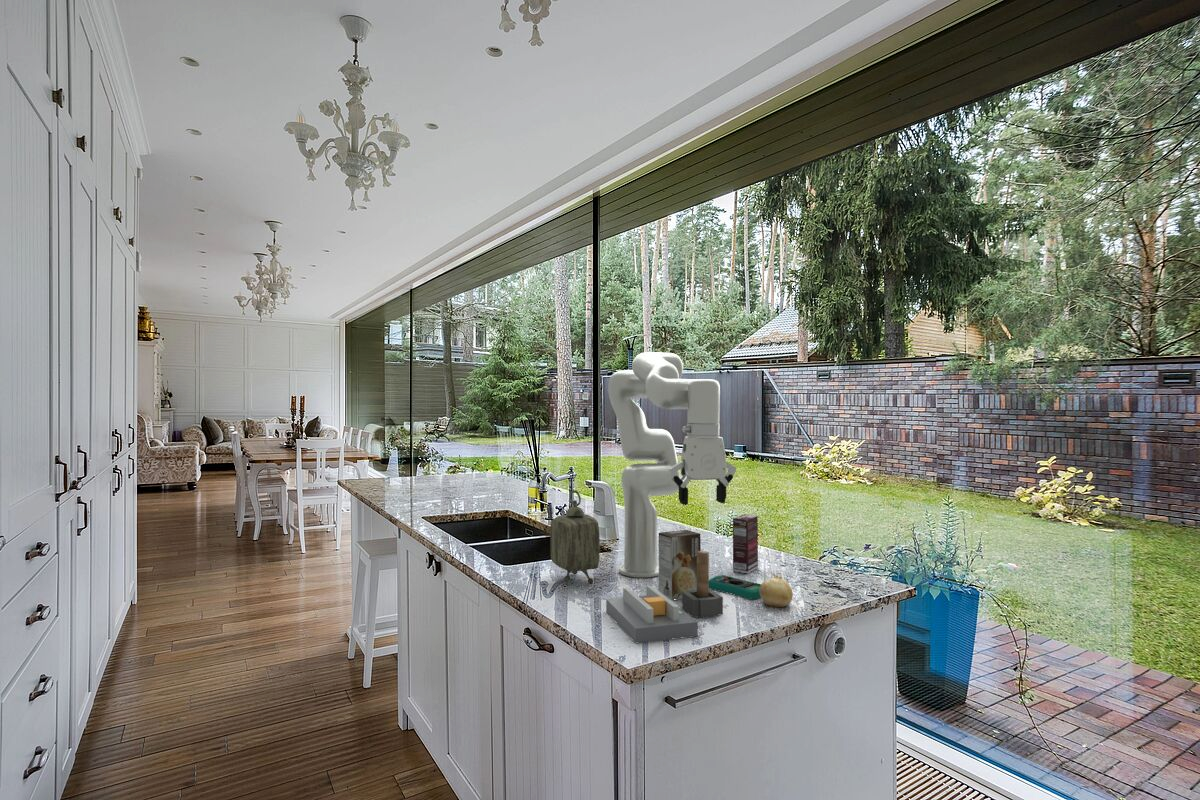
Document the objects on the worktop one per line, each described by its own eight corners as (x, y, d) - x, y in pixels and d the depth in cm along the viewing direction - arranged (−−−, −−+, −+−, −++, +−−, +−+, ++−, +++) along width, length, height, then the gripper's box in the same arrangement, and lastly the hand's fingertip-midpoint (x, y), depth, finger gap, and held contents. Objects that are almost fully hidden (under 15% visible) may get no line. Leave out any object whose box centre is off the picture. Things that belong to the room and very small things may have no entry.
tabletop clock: (599, 585, 167) (600, 492, 167) (568, 589, 163) (569, 494, 163) (577, 572, 180) (578, 486, 180) (548, 576, 176) (549, 488, 176)
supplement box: (743, 565, 188) (743, 513, 188) (758, 568, 185) (758, 515, 186) (731, 571, 181) (732, 517, 181) (747, 574, 178) (747, 519, 179)
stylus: (694, 610, 147) (694, 551, 147) (705, 609, 148) (705, 550, 148) (699, 614, 144) (700, 554, 144) (710, 613, 145) (710, 553, 145)
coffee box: (686, 589, 164) (687, 528, 164) (701, 596, 158) (701, 533, 158) (657, 594, 159) (658, 532, 159) (671, 601, 154) (672, 536, 154)
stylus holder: (680, 607, 149) (680, 591, 149) (709, 605, 151) (709, 588, 151) (694, 618, 141) (694, 600, 141) (724, 615, 144) (724, 598, 144)
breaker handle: (643, 611, 136) (643, 598, 136) (660, 610, 137) (660, 596, 137) (648, 616, 133) (648, 602, 133) (665, 614, 134) (665, 600, 135)
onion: (799, 608, 149) (799, 578, 149) (770, 611, 147) (770, 581, 147) (780, 598, 157) (780, 570, 157) (753, 600, 155) (753, 572, 155)
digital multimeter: (721, 583, 171) (721, 573, 171) (769, 595, 160) (769, 584, 160) (705, 589, 166) (705, 578, 166) (753, 602, 155) (753, 590, 155)
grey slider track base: (606, 611, 145) (606, 586, 146) (661, 606, 150) (661, 581, 150) (635, 643, 126) (635, 613, 126) (697, 636, 130) (697, 607, 130)
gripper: (676, 432, 140) (675, 507, 140) (743, 431, 145) (742, 504, 146) (663, 430, 148) (662, 502, 148) (728, 430, 153) (727, 499, 153)
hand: (702, 503), depth 147 cm, fingers open, 9 cm apart
